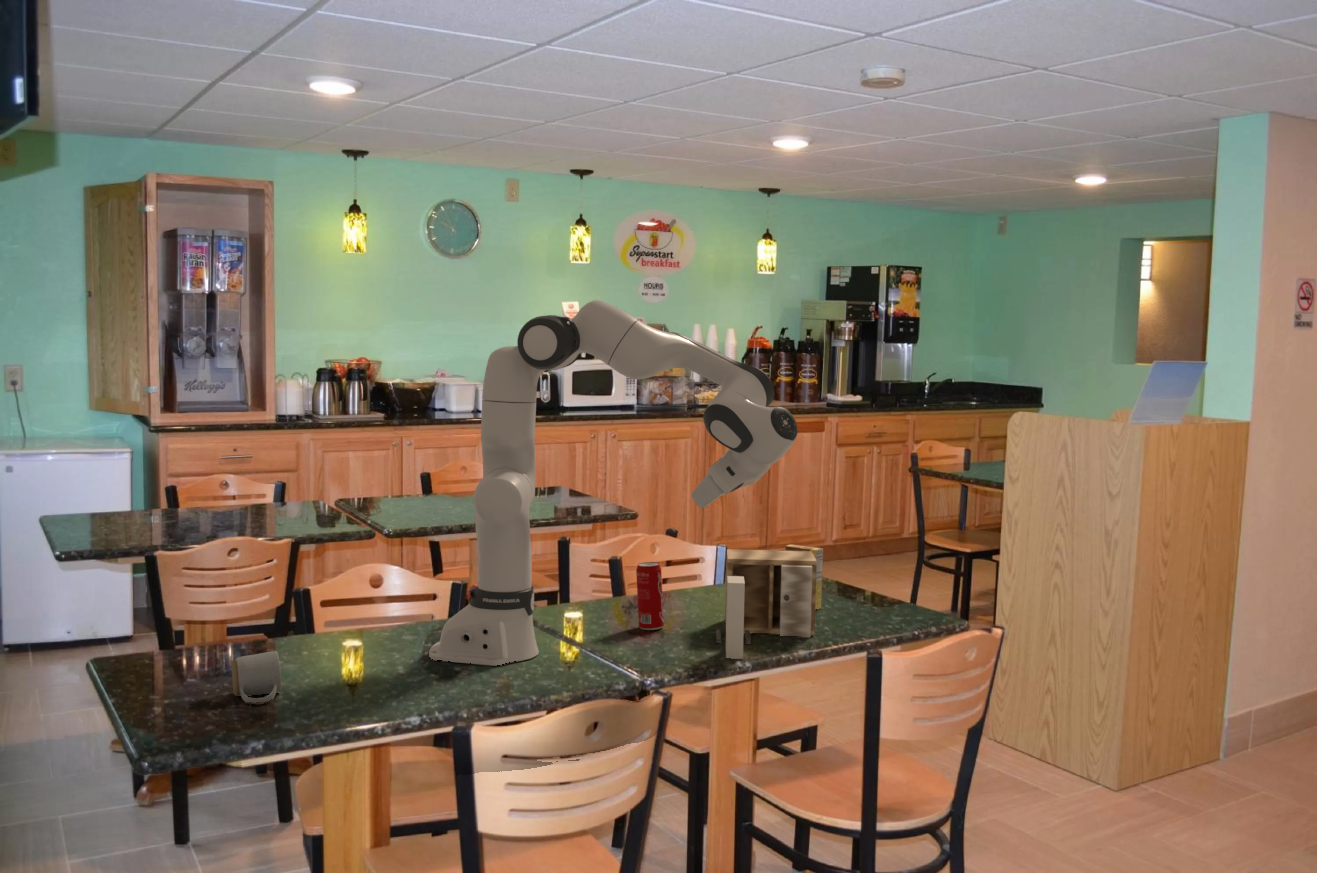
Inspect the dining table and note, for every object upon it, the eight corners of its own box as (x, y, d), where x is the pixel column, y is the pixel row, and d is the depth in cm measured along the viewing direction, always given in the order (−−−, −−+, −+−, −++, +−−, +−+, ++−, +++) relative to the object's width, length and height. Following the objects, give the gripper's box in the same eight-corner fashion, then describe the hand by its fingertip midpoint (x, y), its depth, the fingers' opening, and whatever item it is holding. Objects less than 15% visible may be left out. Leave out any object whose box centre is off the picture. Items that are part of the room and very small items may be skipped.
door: (726, 658, 233) (727, 582, 231) (725, 649, 240) (727, 575, 238) (742, 659, 233) (744, 583, 231) (742, 649, 240) (743, 576, 238)
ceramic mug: (230, 691, 206) (230, 650, 205) (277, 686, 209) (277, 645, 208) (236, 709, 196) (235, 667, 195) (285, 703, 200) (284, 661, 199)
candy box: (782, 606, 281) (784, 545, 280) (790, 603, 284) (792, 543, 283) (814, 611, 276) (816, 549, 275) (822, 608, 279) (823, 547, 278)
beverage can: (663, 631, 254) (664, 566, 253) (634, 630, 254) (635, 565, 253) (663, 624, 260) (665, 561, 259) (635, 624, 260) (636, 560, 259)
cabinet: (716, 643, 244) (717, 567, 243) (715, 619, 266) (717, 548, 264) (818, 646, 243) (820, 569, 242) (809, 622, 265) (811, 551, 263)
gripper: (765, 431, 237) (733, 464, 247) (705, 470, 224) (674, 502, 234) (784, 454, 236) (751, 486, 246) (724, 494, 223) (692, 526, 233)
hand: (713, 494), depth 240 cm, fingers open, 8 cm apart
